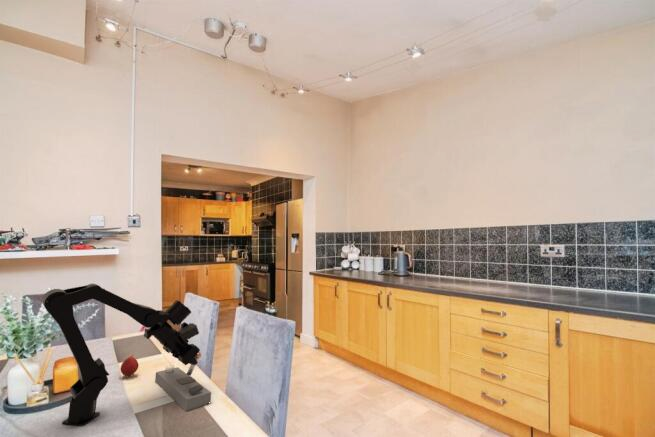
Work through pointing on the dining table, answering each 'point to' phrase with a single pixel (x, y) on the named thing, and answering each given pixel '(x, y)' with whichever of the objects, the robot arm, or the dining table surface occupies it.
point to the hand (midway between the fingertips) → (195, 363)
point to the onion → (129, 366)
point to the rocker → (195, 389)
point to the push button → (169, 369)
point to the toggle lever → (193, 365)
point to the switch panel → (182, 389)
